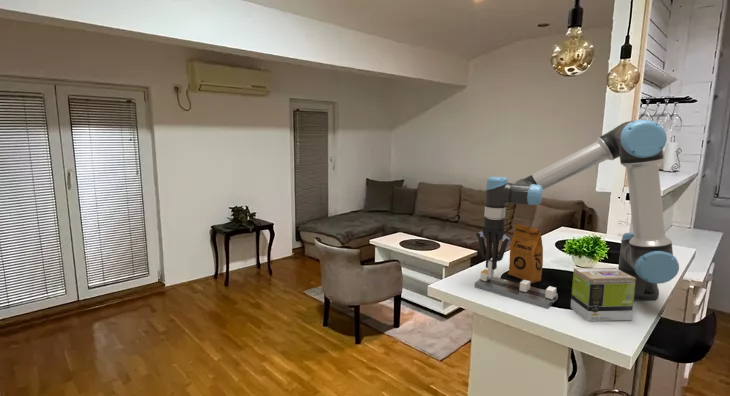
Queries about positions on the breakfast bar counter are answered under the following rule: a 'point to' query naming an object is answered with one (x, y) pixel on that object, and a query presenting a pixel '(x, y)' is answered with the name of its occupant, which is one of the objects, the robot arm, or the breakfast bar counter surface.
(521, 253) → the coffee package
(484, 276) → the block
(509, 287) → the panel
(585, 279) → the tea box
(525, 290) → the block
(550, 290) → the block
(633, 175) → the robot arm
